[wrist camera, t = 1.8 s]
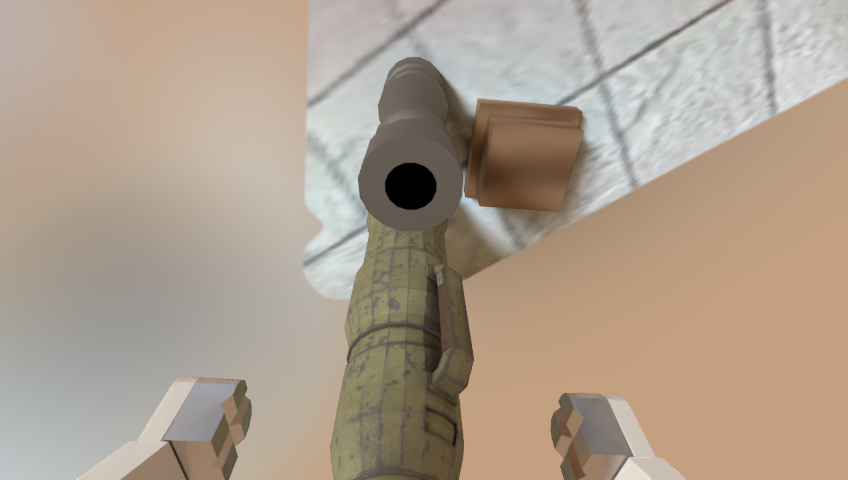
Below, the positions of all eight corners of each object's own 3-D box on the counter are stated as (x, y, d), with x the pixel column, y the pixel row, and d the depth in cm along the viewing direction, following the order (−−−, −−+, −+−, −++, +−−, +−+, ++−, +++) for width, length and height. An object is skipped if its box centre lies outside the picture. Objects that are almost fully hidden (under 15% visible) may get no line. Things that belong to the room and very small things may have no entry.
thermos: (465, 179, 48) (542, 483, 18) (412, 246, 53) (406, 567, 24) (404, 140, 45) (379, 422, 16) (354, 215, 50) (266, 533, 21)
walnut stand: (477, 98, 43) (485, 113, 38) (576, 106, 43) (596, 122, 38) (463, 190, 49) (469, 213, 44) (550, 196, 49) (565, 219, 44)
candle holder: (404, 43, 40) (390, 105, 19) (454, 79, 42) (491, 171, 21) (374, 96, 43) (332, 202, 22) (422, 128, 45) (426, 252, 23)
